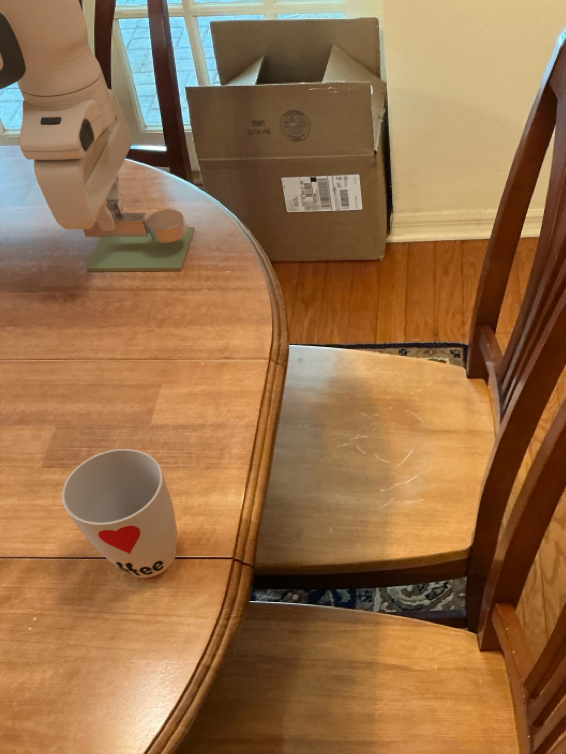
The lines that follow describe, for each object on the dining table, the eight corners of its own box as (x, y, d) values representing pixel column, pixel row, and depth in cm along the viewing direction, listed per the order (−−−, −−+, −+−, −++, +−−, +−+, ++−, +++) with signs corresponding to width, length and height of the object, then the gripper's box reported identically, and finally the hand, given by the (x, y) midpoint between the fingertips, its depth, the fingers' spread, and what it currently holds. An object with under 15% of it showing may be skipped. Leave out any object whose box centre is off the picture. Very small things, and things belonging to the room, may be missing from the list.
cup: (87, 578, 69) (41, 510, 61) (133, 511, 74) (96, 439, 66) (166, 602, 68) (129, 535, 60) (208, 531, 72) (180, 460, 64)
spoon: (82, 243, 96) (76, 227, 95) (92, 223, 99) (86, 207, 97) (182, 242, 96) (178, 226, 94) (190, 222, 98) (185, 205, 97)
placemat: (87, 271, 97) (86, 268, 97) (106, 230, 102) (104, 227, 102) (181, 270, 97) (180, 267, 96) (194, 230, 102) (194, 226, 101)
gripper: (70, 64, 91) (110, 177, 102) (12, 152, 79) (65, 269, 90) (122, 63, 91) (156, 176, 102) (72, 151, 79) (117, 269, 90)
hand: (113, 220), depth 96 cm, fingers closed on spoon, 2 cm apart
